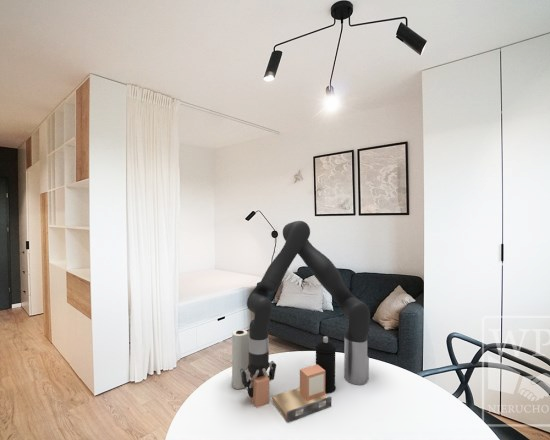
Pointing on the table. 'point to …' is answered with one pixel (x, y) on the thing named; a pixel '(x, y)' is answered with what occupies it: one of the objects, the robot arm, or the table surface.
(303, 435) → the table surface
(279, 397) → the tan flat block
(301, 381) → the carton faced
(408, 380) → the table surface
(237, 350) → the paper towel roll
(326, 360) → the aerosol can
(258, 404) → the carton
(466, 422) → the table surface
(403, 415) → the table surface
